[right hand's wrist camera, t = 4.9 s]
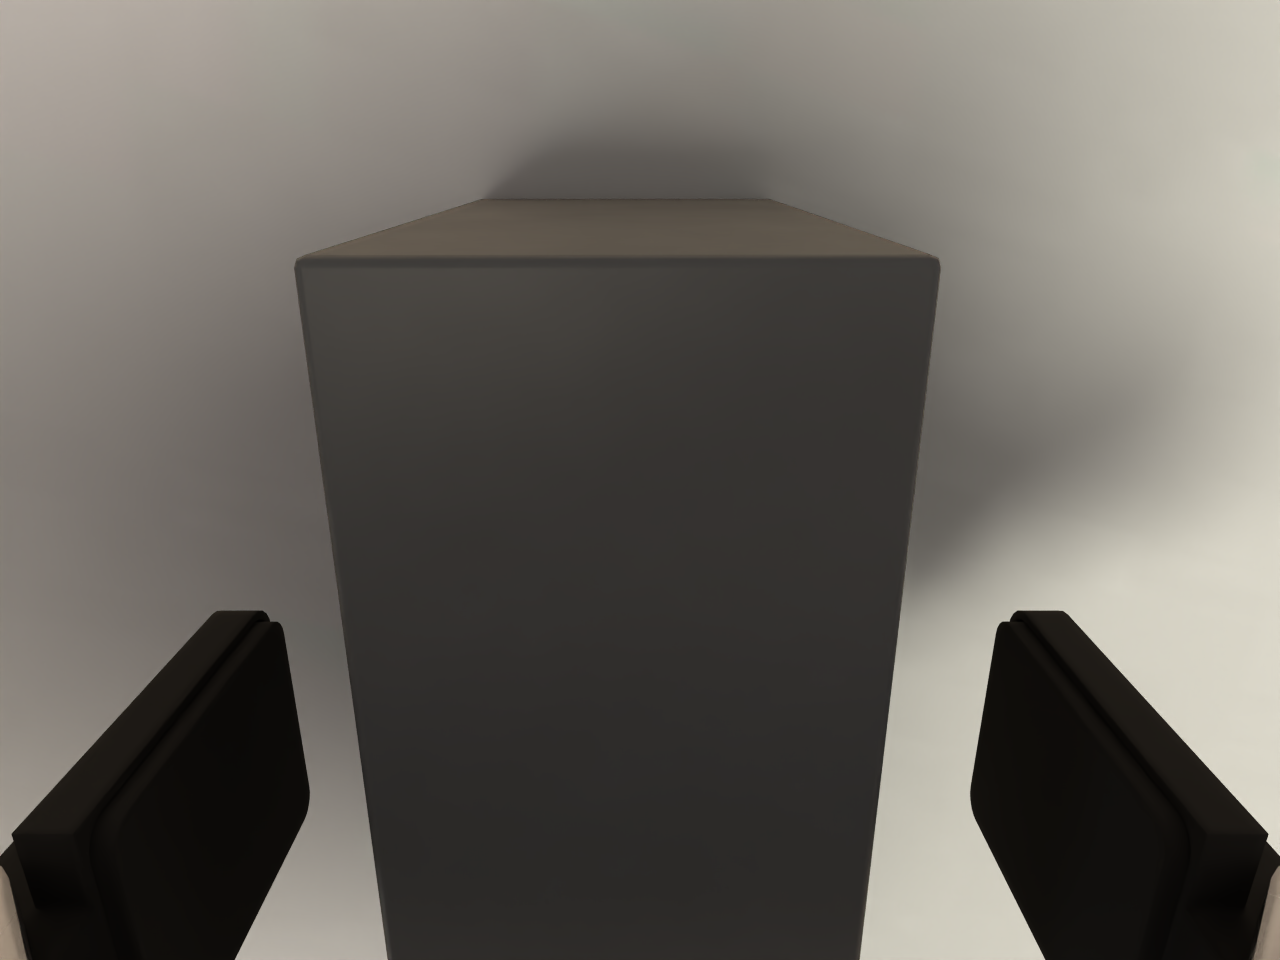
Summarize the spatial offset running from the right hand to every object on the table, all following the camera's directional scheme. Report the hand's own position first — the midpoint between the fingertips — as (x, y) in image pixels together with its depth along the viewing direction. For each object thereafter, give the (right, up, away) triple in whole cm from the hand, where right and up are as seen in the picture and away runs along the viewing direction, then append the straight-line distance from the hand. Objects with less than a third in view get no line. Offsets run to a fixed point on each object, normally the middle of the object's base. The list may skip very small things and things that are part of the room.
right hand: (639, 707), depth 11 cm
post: (0, -28, +15) cm, 31 cm away
